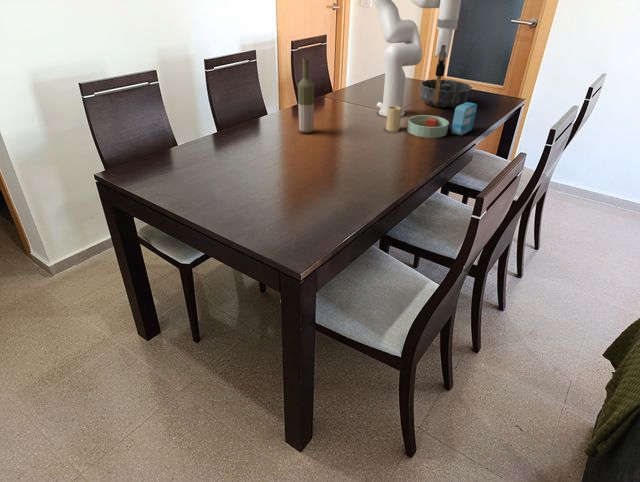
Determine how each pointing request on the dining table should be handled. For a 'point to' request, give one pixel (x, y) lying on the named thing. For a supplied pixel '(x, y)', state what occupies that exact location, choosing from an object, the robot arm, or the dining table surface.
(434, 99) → the stick
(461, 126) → the data package
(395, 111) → the crock
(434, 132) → the bowl
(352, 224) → the dining table surface
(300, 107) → the bottle
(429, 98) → the bundt pan
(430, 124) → the block
